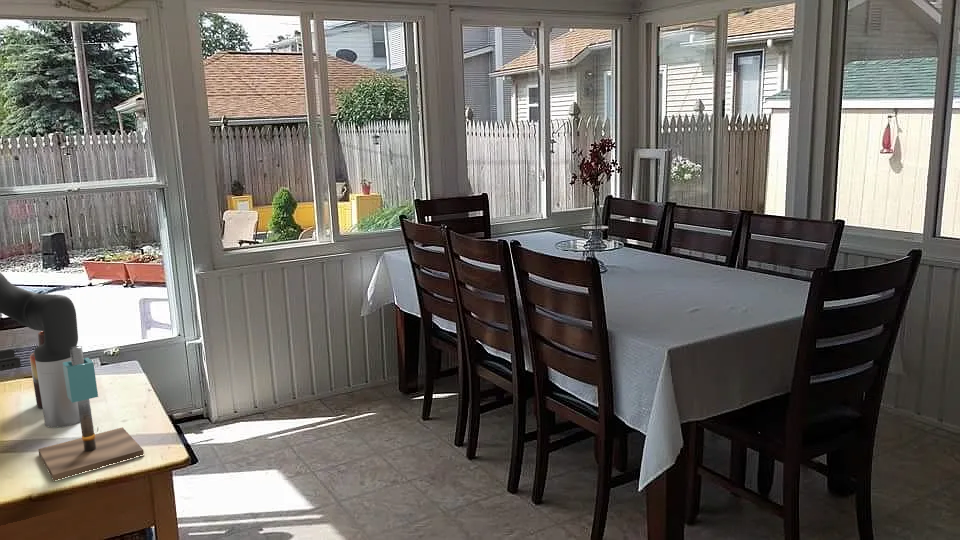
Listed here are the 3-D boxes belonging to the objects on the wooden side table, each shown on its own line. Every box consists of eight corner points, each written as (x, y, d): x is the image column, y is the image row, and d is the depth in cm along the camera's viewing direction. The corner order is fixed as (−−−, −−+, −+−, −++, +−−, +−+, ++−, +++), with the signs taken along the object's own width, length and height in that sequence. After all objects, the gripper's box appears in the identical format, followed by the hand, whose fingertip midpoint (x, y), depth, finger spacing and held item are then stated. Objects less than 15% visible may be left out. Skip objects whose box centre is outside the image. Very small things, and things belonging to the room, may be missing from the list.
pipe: (82, 449, 167) (67, 347, 163) (95, 445, 169) (80, 345, 164) (85, 452, 165) (70, 350, 161) (97, 449, 167) (83, 347, 162)
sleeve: (67, 396, 165) (62, 362, 163) (92, 391, 168) (88, 357, 167) (72, 402, 161) (67, 367, 159) (98, 396, 164) (93, 362, 163)
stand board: (39, 455, 168) (38, 449, 168) (123, 433, 180) (122, 427, 179) (53, 481, 155) (52, 475, 154) (144, 455, 166) (143, 449, 165)
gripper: (-80, 363, 139) (19, 346, 149) (-83, 349, 150) (9, 334, 160) (-74, 401, 141) (24, 382, 151) (-77, 384, 152) (14, 367, 162)
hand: (17, 357), depth 156 cm, fingers open, 8 cm apart
